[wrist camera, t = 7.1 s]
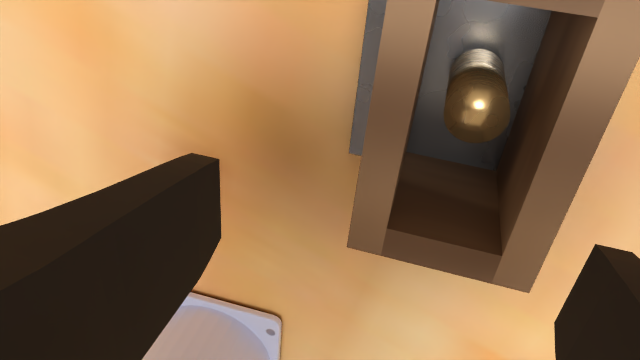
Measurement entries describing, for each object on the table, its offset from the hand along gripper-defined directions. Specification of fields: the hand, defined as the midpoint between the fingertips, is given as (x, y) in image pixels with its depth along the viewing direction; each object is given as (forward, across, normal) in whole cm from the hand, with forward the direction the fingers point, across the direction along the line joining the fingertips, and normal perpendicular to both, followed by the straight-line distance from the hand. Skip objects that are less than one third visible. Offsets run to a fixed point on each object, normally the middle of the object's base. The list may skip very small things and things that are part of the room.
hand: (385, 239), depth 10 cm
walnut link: (+9, -2, 0) cm, 9 cm away
